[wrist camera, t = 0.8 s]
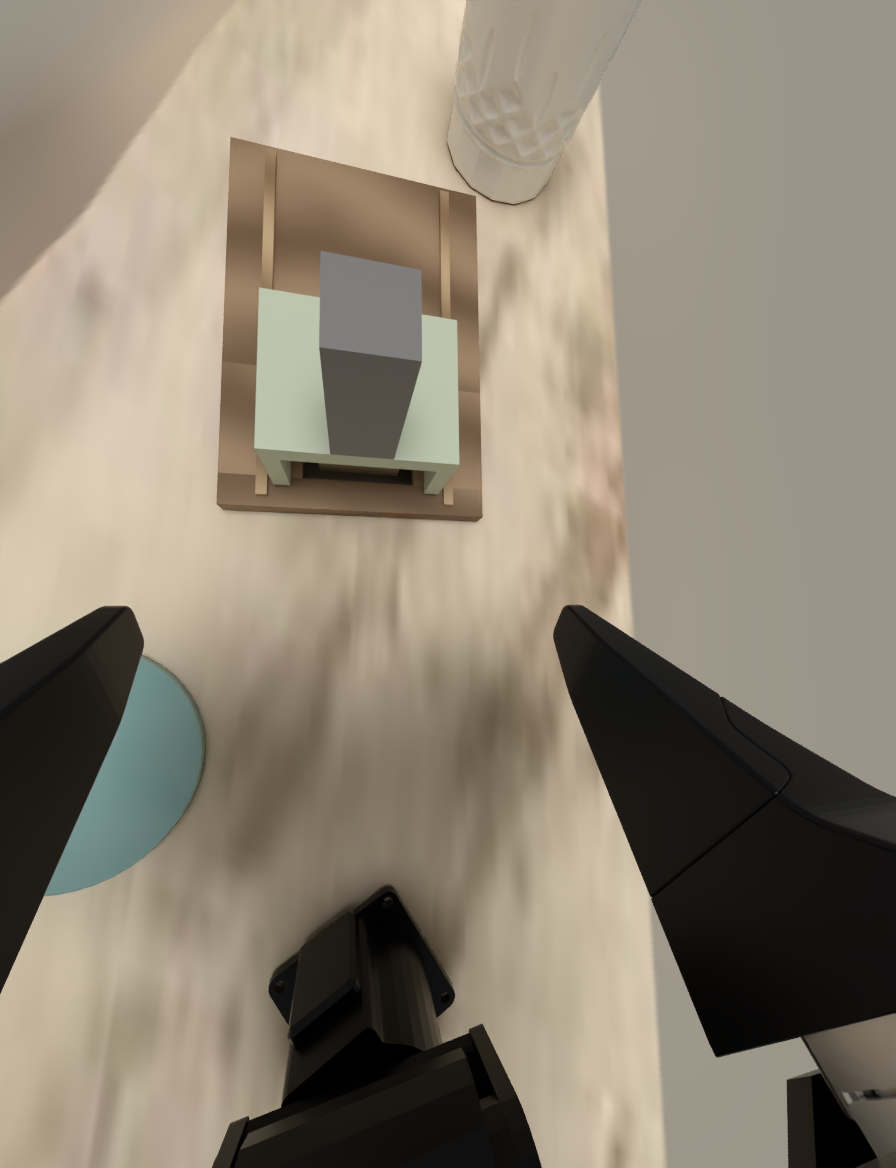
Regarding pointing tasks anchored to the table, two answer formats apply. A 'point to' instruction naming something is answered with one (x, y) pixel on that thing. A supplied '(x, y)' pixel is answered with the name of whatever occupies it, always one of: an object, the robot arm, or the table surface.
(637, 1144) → the table surface
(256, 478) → the puzzle board
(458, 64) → the white cup
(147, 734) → the teal saucer
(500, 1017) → the table surface
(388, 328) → the sliding cover
